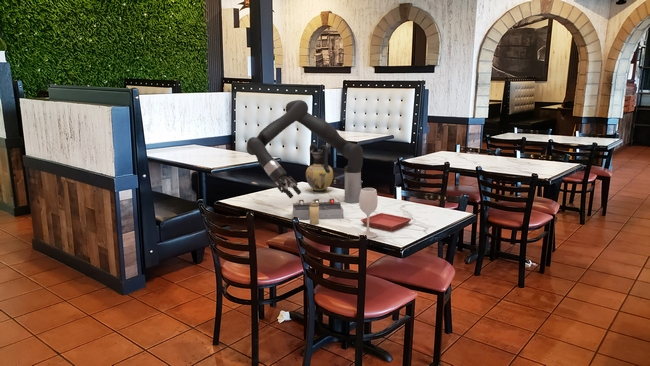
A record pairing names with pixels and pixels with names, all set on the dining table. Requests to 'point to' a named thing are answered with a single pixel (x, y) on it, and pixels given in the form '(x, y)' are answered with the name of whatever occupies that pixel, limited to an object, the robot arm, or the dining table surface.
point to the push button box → (325, 210)
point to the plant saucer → (386, 221)
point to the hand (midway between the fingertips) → (296, 195)
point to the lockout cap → (314, 213)
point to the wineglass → (368, 207)
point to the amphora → (319, 169)
